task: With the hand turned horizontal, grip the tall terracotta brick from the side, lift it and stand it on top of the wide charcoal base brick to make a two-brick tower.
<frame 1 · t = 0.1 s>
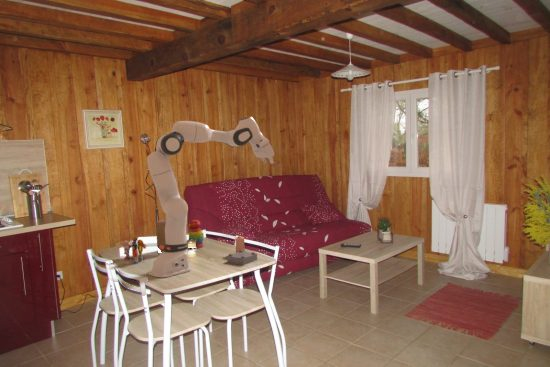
hand: (269, 163, 231), 54 cm above the table, tool tilted 30°, fingers open, 8 cm apart
terracotta brick: (240, 254, 237), on the table
doll family: (136, 259, 231), on the table
block: (167, 252, 246), on the table
charcoal base brick: (242, 261, 223), on the table
stacking bear: (195, 247, 257), on the table
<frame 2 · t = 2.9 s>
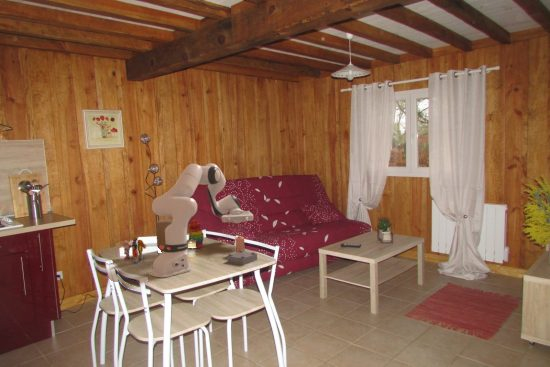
hand: (238, 220, 247), 18 cm above the table, tool horizontal, fingers open, 8 cm apart
nothing on the table moved.
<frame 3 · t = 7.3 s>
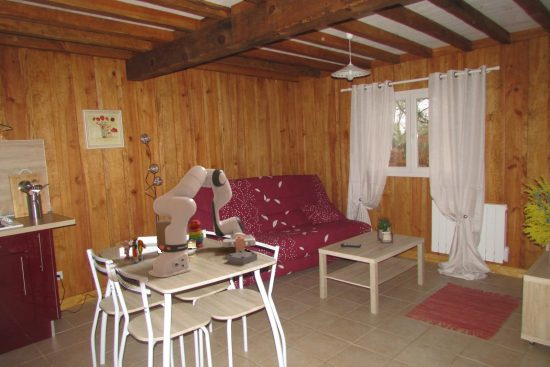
hand: (240, 245, 235), 6 cm above the table, tool horizontal, fingers closed on terracotta brick, 5 cm apart
terracotta brick: (240, 254, 237), on the table, touching gripper
everything else where it was.
when the fingers open (11 cm above the table, at t = 12.3 s): terracotta brick drops 2 cm, resting on charcoal base brick.
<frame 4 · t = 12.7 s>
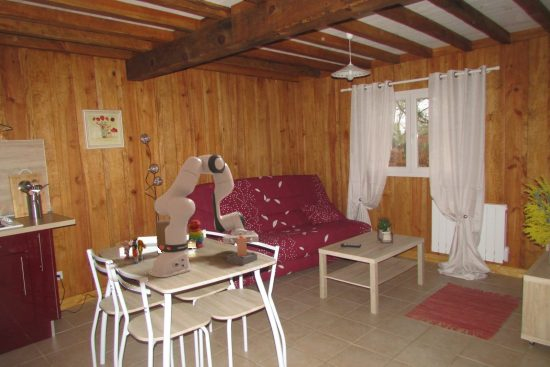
hand: (241, 242, 221), 11 cm above the table, tool horizontal, fingers open, 8 cm apart
terracotta brick: (242, 254, 222), point 4 cm above the table, touching charcoal base brick
charcoal base brick: (242, 261, 223), on the table, touching terracotta brick
everything else where it was.
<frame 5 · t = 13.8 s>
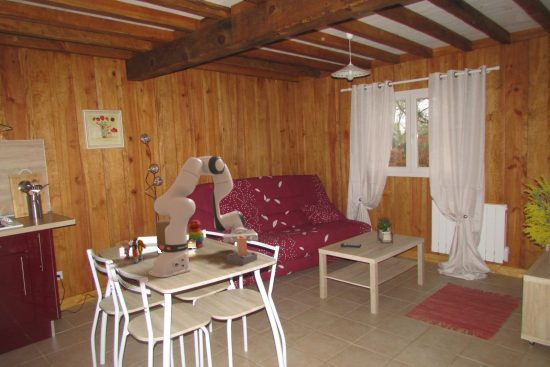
hand: (241, 240, 224), 11 cm above the table, tool horizontal, fingers open, 8 cm apart
nothing on the table moved.
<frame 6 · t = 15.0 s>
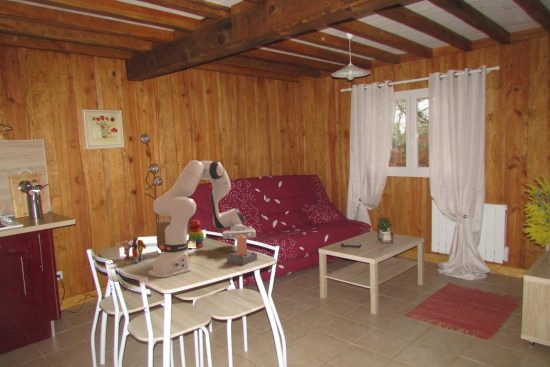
hand: (240, 236, 233), 11 cm above the table, tool horizontal, fingers open, 8 cm apart
nothing on the table moved.
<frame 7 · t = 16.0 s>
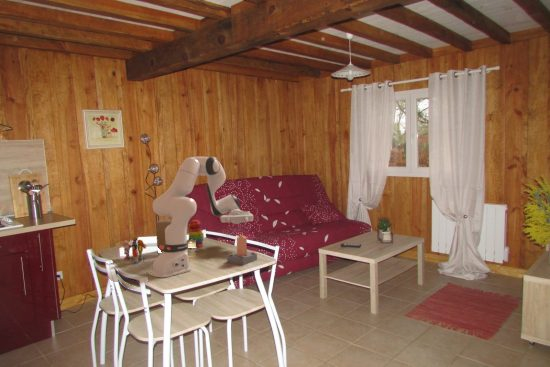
hand: (237, 220, 238), 20 cm above the table, tool horizontal, fingers open, 8 cm apart
terracotta brick: (241, 254, 222), point 4 cm above the table
charcoal base brick: (242, 261, 223), on the table
everything else where it was.
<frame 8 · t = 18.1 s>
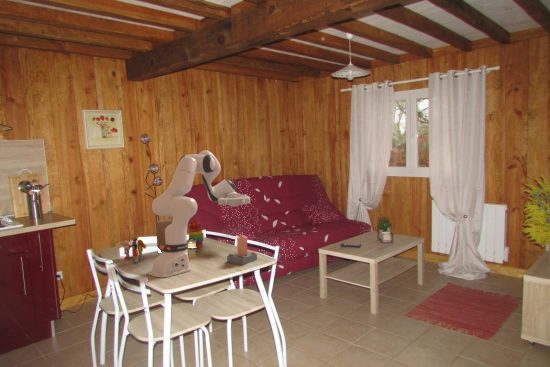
hand: (234, 202, 244), 30 cm above the table, tool horizontal, fingers open, 8 cm apart
nothing on the table moved.
at the end: terracotta brick 0.4 cm off-centre on the charcoal base brick, point 4.1 cm above the charcoal base brick's base; terracotta brick tilted 2°; the gripper is holding nothing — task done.
